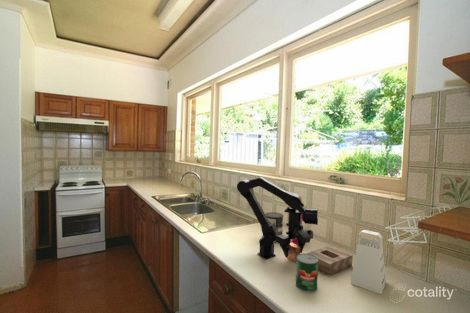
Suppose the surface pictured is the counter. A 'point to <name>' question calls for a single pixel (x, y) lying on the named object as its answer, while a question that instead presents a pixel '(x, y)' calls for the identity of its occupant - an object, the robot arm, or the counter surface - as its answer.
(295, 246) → the tall wooden block
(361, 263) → the grater
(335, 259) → the well block
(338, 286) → the counter surface
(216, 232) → the counter surface
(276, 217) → the coffee can
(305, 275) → the canned tomato
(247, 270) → the counter surface
